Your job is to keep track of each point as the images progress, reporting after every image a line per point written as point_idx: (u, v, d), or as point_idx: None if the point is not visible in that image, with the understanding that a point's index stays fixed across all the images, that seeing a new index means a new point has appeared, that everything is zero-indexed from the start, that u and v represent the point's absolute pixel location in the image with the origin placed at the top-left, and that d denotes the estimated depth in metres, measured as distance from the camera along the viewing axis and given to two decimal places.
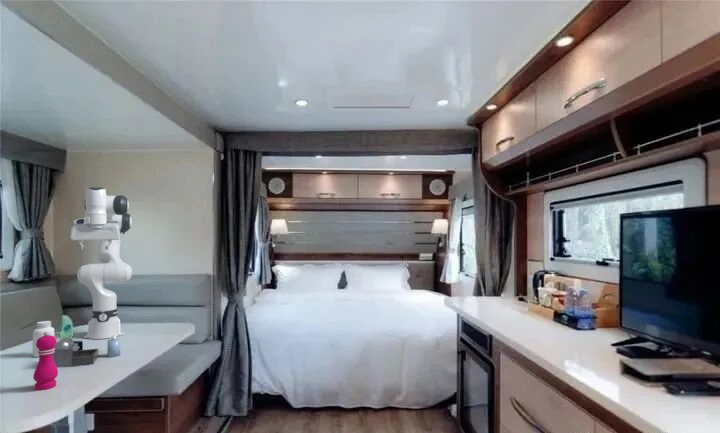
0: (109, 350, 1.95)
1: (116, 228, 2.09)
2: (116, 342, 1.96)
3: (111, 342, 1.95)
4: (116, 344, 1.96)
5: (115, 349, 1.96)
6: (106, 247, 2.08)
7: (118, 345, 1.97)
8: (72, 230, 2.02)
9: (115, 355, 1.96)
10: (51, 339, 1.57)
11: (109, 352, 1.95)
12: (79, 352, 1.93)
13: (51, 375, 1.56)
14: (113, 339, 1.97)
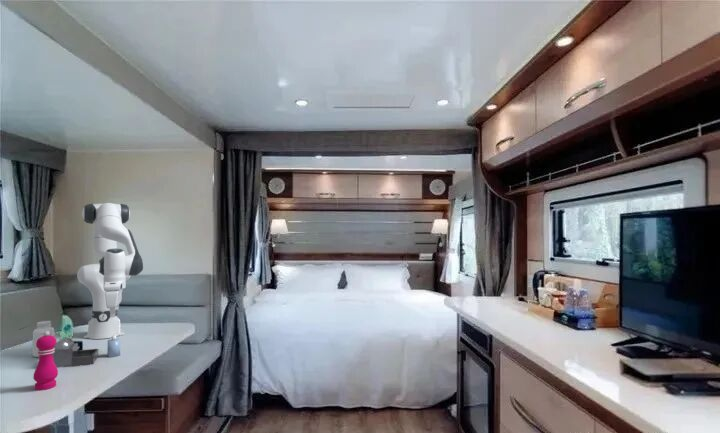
0: (109, 350, 1.95)
1: None
2: (116, 342, 1.96)
3: (111, 342, 1.95)
4: (116, 344, 1.96)
5: (115, 349, 1.96)
6: None
7: (118, 345, 1.97)
8: (117, 296, 1.91)
9: (115, 355, 1.96)
10: (52, 339, 1.57)
11: (109, 352, 1.95)
12: (79, 352, 1.93)
13: (51, 375, 1.56)
14: (113, 339, 1.97)
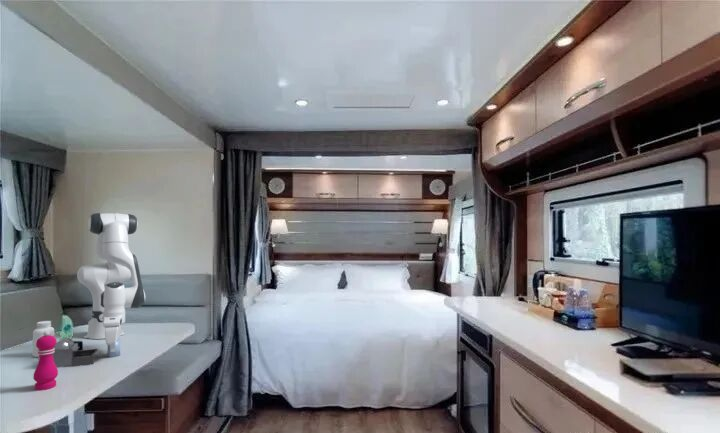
0: (109, 350, 1.95)
1: None
2: (116, 342, 1.96)
3: None
4: (116, 344, 1.96)
5: (115, 349, 1.96)
6: None
7: (118, 345, 1.97)
8: (117, 332, 1.90)
9: (115, 355, 1.96)
10: (52, 339, 1.57)
11: (109, 352, 1.95)
12: (79, 352, 1.93)
13: (51, 375, 1.56)
14: None
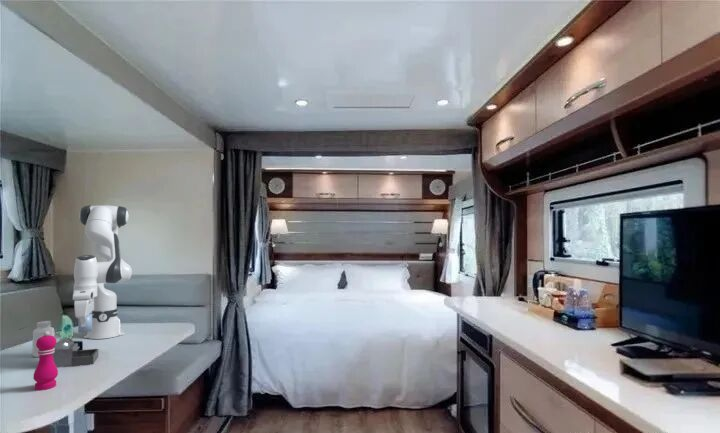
0: (80, 325, 1.87)
1: None
2: (87, 317, 1.88)
3: None
4: (87, 319, 1.88)
5: (86, 324, 1.87)
6: None
7: (89, 320, 1.89)
8: (87, 306, 1.82)
9: (86, 330, 1.87)
10: (51, 339, 1.57)
11: (80, 327, 1.87)
12: (79, 352, 1.93)
13: (51, 375, 1.56)
14: None
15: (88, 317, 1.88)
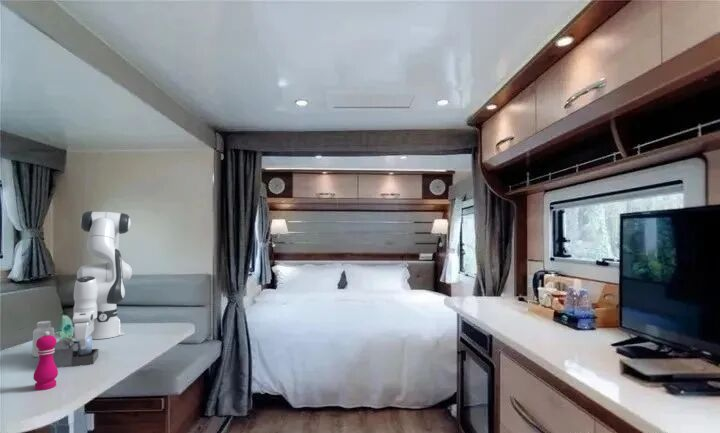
0: (80, 347, 1.86)
1: None
2: (87, 339, 1.87)
3: None
4: (87, 341, 1.87)
5: (86, 346, 1.87)
6: None
7: (89, 342, 1.88)
8: (87, 328, 1.82)
9: (86, 352, 1.87)
10: (51, 339, 1.57)
11: (80, 349, 1.86)
12: None
13: (51, 375, 1.56)
14: None
15: (88, 339, 1.88)
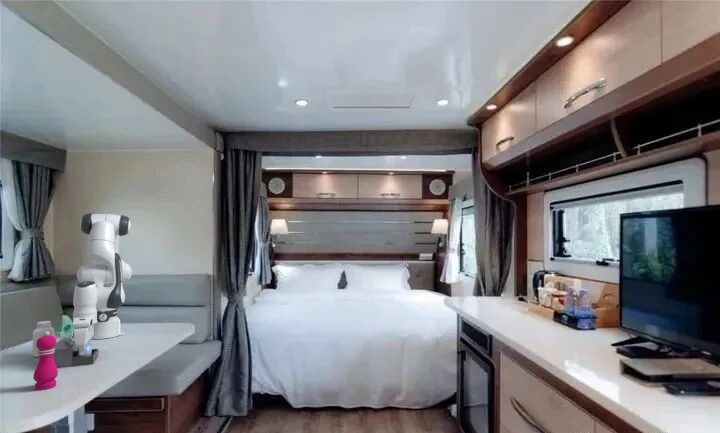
0: (79, 355, 1.87)
1: None
2: (87, 347, 1.88)
3: None
4: (87, 349, 1.88)
5: (86, 354, 1.87)
6: None
7: (89, 350, 1.88)
8: (86, 333, 1.82)
9: None
10: (51, 339, 1.57)
11: None
12: None
13: (51, 375, 1.56)
14: None
15: (88, 347, 1.88)
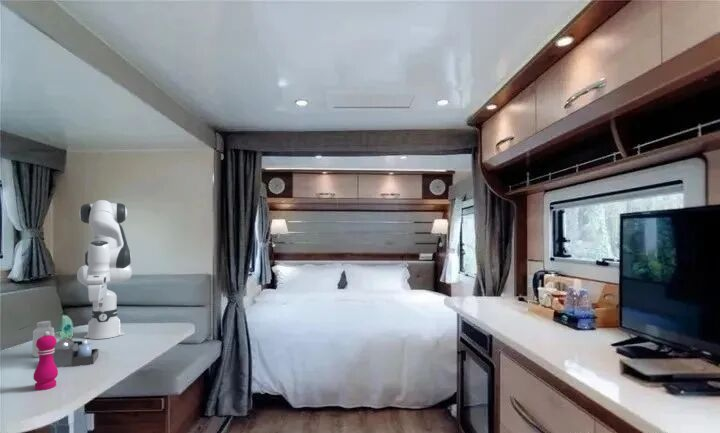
0: (79, 355, 1.87)
1: None
2: (87, 347, 1.88)
3: (81, 347, 1.87)
4: (87, 349, 1.88)
5: (86, 354, 1.87)
6: (102, 304, 1.99)
7: (89, 350, 1.88)
8: (100, 290, 1.87)
9: None
10: (52, 339, 1.57)
11: None
12: None
13: (51, 375, 1.56)
14: (84, 344, 1.88)
15: (88, 347, 1.88)
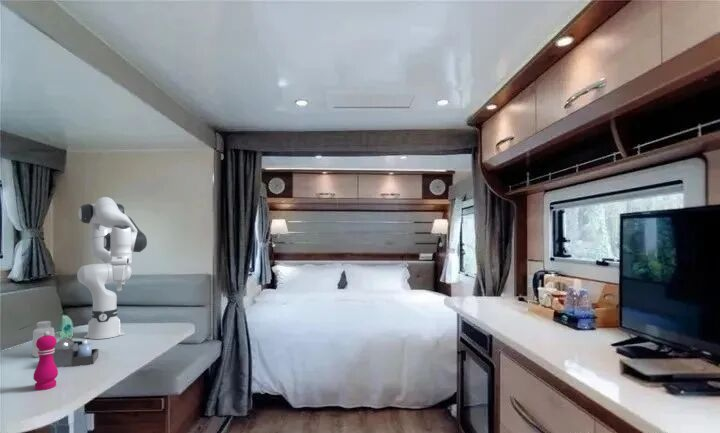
0: (79, 355, 1.87)
1: None
2: (87, 347, 1.88)
3: (81, 347, 1.87)
4: (87, 349, 1.88)
5: (86, 354, 1.87)
6: None
7: (89, 350, 1.88)
8: (124, 270, 1.95)
9: None
10: (51, 339, 1.57)
11: None
12: None
13: (51, 375, 1.56)
14: (84, 344, 1.88)
15: (88, 347, 1.88)
